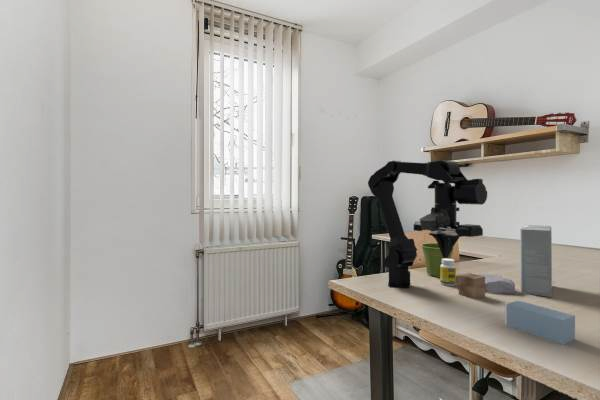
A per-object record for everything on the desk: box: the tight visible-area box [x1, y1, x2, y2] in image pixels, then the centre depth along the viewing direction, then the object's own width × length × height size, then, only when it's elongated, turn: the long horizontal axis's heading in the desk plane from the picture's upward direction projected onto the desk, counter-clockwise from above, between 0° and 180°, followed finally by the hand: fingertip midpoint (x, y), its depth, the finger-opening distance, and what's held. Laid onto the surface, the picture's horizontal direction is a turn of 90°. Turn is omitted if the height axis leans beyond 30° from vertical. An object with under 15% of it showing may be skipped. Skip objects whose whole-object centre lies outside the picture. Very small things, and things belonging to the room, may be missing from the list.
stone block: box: [478, 273, 516, 295], centre depth 99 cm, size 12×5×10 cm
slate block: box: [504, 299, 576, 346], centre depth 67 cm, size 5×5×11 cm
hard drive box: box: [519, 224, 553, 298], centre depth 98 cm, size 16×8×20 cm, turn 141°
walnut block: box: [458, 272, 486, 300], centre depth 92 cm, size 5×5×6 cm
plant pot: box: [420, 242, 456, 278], centre depth 116 cm, size 12×12×11 cm
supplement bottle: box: [439, 258, 457, 287], centre depth 104 cm, size 5×5×8 cm
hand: (445, 257), depth 88 cm, fingers closed
